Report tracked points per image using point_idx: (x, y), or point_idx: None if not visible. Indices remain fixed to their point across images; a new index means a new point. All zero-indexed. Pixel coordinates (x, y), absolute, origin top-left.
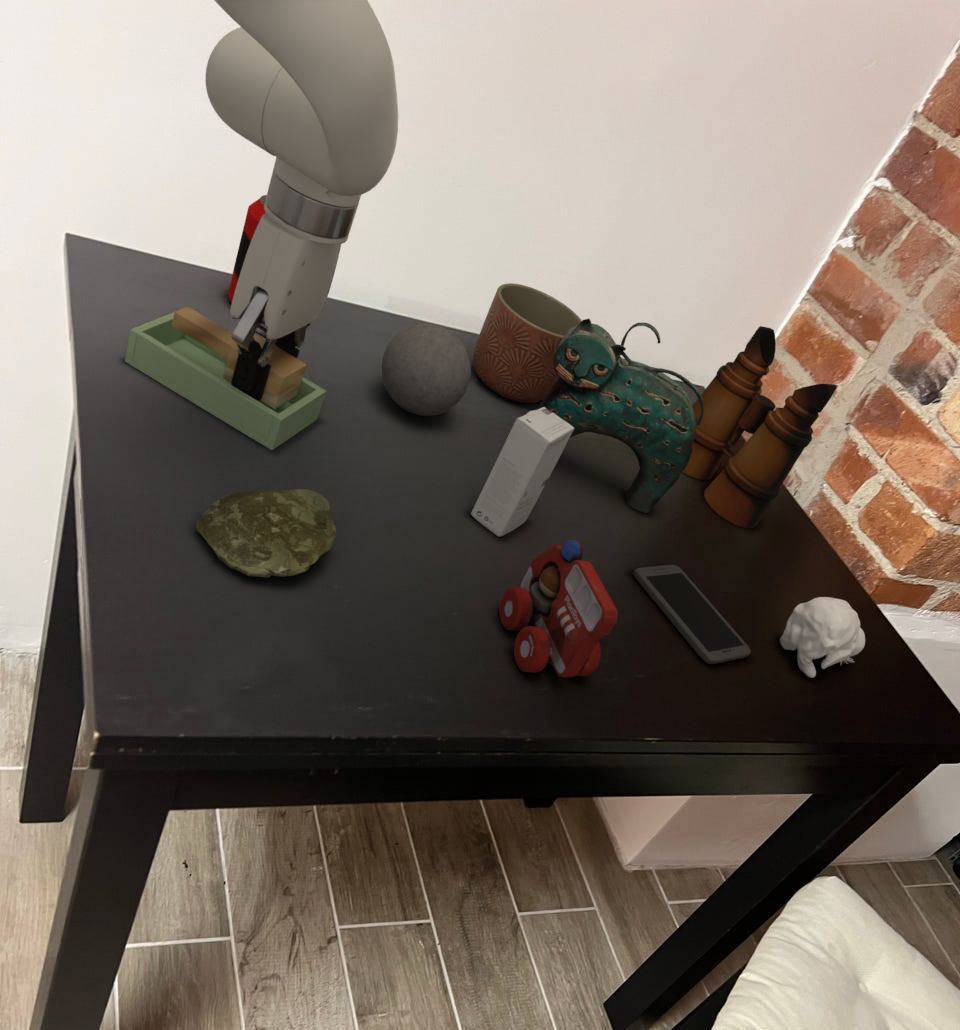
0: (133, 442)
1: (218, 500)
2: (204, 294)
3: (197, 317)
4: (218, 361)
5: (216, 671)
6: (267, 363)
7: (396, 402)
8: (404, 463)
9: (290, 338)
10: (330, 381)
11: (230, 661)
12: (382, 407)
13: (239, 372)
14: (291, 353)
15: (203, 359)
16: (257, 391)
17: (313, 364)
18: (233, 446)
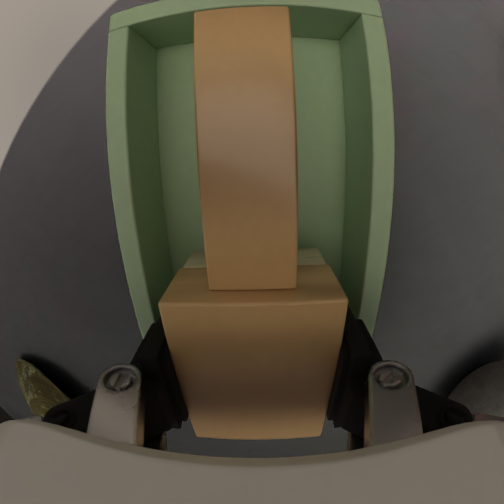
0: (18, 233)
1: (34, 371)
2: (494, 25)
3: (251, 68)
4: (338, 141)
5: (5, 398)
6: (176, 422)
7: (449, 396)
8: (337, 441)
9: (352, 426)
10: (466, 302)
11: (12, 403)
12: (447, 373)
13: (142, 343)
14: (328, 411)
15: (309, 115)
16: None
17: (491, 257)
18: (130, 323)
